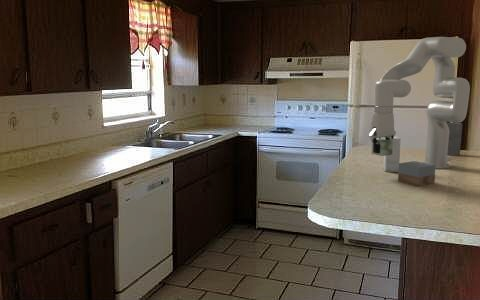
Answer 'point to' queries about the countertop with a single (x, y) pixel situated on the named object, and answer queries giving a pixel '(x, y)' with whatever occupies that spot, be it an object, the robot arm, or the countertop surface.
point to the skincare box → (392, 157)
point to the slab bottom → (416, 179)
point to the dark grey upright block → (454, 138)
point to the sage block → (384, 147)
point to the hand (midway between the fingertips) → (381, 151)
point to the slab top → (416, 169)
